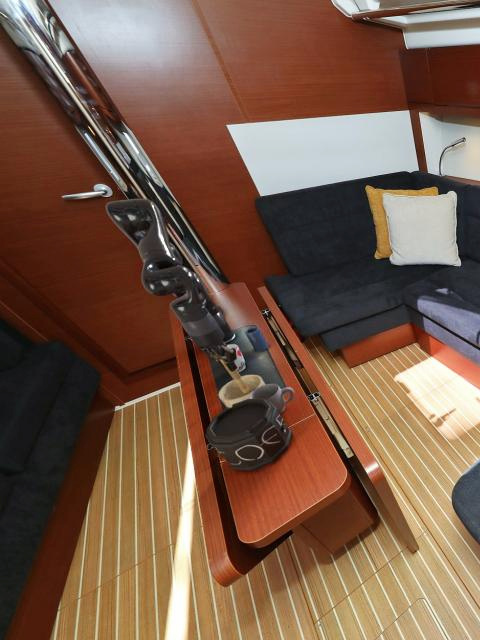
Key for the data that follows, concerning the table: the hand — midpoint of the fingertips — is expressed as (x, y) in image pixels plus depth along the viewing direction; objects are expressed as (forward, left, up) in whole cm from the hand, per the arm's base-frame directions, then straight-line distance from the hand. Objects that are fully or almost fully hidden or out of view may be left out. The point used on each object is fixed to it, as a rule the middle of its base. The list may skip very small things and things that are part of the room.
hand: (231, 369), depth 112 cm
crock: (-35, +11, -16) cm, 40 cm away
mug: (+11, +6, -17) cm, 21 cm away
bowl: (-1, -1, -16) cm, 16 cm away
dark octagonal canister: (+27, -3, -17) cm, 31 cm away
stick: (0, 0, -13) cm, 13 cm away
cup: (-26, 0, -17) cm, 30 cm away
